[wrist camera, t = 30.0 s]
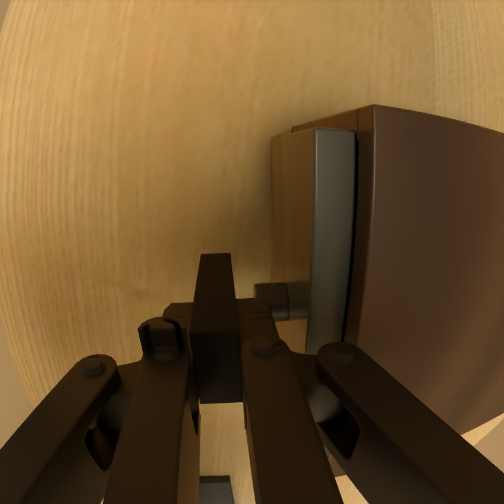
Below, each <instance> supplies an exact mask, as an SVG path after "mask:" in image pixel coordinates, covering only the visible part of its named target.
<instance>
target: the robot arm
mask: <svg viewBox="0 0 504 504" xmlns="http://www.w3.org/2000/svg"><path fill="white" fill-rule="evenodd" d="M138 333H139V337H140V342H141V346H142V350H143V356H142V359H141V360H140V361H137V362H134V363H130V364H125V365H120V366H117V364H116V361H115V360H114V359H113V358H112V357H110V356H107V355H102V354H96V355H90V356H87V357H85V358H83V359H81V360H80V361H79V362H77V363H76V364H75V365H74V366H73V367H72V368H71V369H70V371H69V372H68V373H67V374H66V375H65V376H64V377H63V378H62V379H61V380H60V381H59V383H58V384H57V385H56V386H55V387H54V388H53V389H52V390H51V391H50V393H49V394H48V395H47V396H46V397H45V398H44V399H43V400H42V402H41V403H40V404H39V405H38V406H37V407H36V408H35V409H34V411H33V412H32V413H31V414H30V415H29V417H27V419H26V420H25V421H24V422H23V423H22V425H21V426H20V427H19V428H18V429H17V430H16V432H15V433H14V434H13V435H12V436H11V437H10V439H9V440H8V441H7V442H6V443H5V445H4V446H3V447H2V448H1V449H0V504H100V503H101V501H102V499H103V498H104V500H103V504H199V464H200V423H201V415H200V410H199V399H200V404H213V403H234V402H243V407H244V424H245V429H246V435H247V443H248V451H249V458H250V466H251V473H252V480H253V488H254V495H255V502H256V504H344V503H343V500H342V497H341V494H340V491H339V489H338V486H337V483H336V480H335V477H334V474H333V471H332V469H331V466H330V463H329V460H328V457H327V454H326V452H325V449H324V446H323V444H324V445H325V446H326V448H327V449H328V450H329V452H330V453H331V455H332V456H333V457H334V459H335V460H336V461H337V463H338V464H339V465H340V467H341V468H342V469H343V471H344V472H345V473H346V475H347V476H348V477H349V479H350V480H351V481H352V483H353V484H354V485H355V486H356V488H357V489H358V490H359V492H360V493H361V494H362V495H363V497H364V498H365V499H366V501H367V502H368V503H369V504H504V473H503V472H502V471H501V470H499V469H498V468H497V467H496V466H495V465H494V464H492V463H491V462H490V461H489V460H488V459H487V458H486V457H485V456H483V455H482V454H481V453H480V452H479V451H478V450H476V449H475V448H474V447H473V446H472V445H471V444H470V443H468V442H467V441H466V440H465V439H464V438H463V437H462V436H460V435H459V434H458V433H457V432H456V431H455V430H454V429H452V428H451V427H450V426H449V425H448V424H447V423H445V422H444V421H443V420H442V419H441V418H440V417H439V416H437V415H436V414H435V413H434V412H433V411H432V410H431V409H429V408H428V407H427V406H426V405H425V404H424V403H423V402H421V401H420V400H419V399H418V398H417V397H416V396H415V395H413V394H412V393H411V392H410V391H409V390H408V389H406V388H405V387H404V386H403V385H402V384H401V383H400V382H398V381H397V380H396V379H395V378H394V377H393V376H392V375H390V374H389V373H388V372H387V371H386V370H385V369H384V368H382V367H381V366H380V365H379V364H378V363H377V362H376V361H374V360H373V359H372V358H371V357H370V356H369V355H368V354H366V353H365V352H364V351H363V350H362V349H361V348H359V347H357V346H356V345H354V344H351V343H347V342H331V343H327V344H325V345H323V346H321V347H320V349H319V350H318V352H317V355H310V354H302V353H297V352H294V351H291V350H290V349H289V347H288V345H287V344H286V342H285V341H283V340H282V339H280V337H279V334H278V331H277V328H276V325H275V321H274V318H273V315H272V312H271V309H270V306H269V303H268V302H266V301H265V300H264V299H262V298H245V299H236V297H235V288H234V280H233V271H232V263H231V254H230V253H216V254H201V257H200V263H199V269H198V276H197V282H196V289H195V295H194V302H185V303H171V304H170V305H169V306H168V307H167V308H166V309H165V310H164V313H163V316H161V317H155V318H152V319H149V320H146V321H145V322H143V323H142V324H141V325H140V326H139V327H138ZM322 442H323V443H322Z"/></svg>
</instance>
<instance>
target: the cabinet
mask: <svg viewBox="0 0 504 504" xmlns="http://www.w3.org/2000/svg"><path fill="white" fill-rule="evenodd" d="M314 127H323V128H340V129H352V130H354V131H355V138H356V150H355V156H359V169H358V200H357V219H356V235H355V248H354V260H353V271H352V281H351V290H350V298H349V307H348V315H347V322H346V329H345V336H344V342H347V343H351V344H354V345H356V346H357V347H359V348H361V349H362V350H363V351H364V352H365V353H366V354H368V355H369V356H370V357H371V358H372V359H373V360H374V361H376V362H377V363H378V364H379V365H380V366H381V367H382V368H384V369H385V370H386V371H387V372H388V373H389V374H390V375H392V376H393V377H394V378H395V379H396V380H397V381H398V382H400V383H401V384H402V385H403V386H404V387H405V388H406V389H408V390H409V391H410V392H411V393H412V394H413V395H415V396H416V397H417V398H418V399H419V400H420V401H421V402H423V403H424V404H425V405H426V406H427V407H428V408H429V409H431V410H432V411H433V412H434V413H435V414H436V415H437V416H439V417H440V418H441V419H442V420H443V421H444V422H445V423H447V424H448V425H449V426H450V427H451V428H452V429H454V430H455V431H456V432H457V433H458V434H459V435H462V434H464V433H466V432H468V431H470V430H472V429H474V428H476V427H478V426H480V425H482V424H484V423H486V422H488V421H490V420H492V419H493V418H495V417H497V416H499V415H501V414H502V413H504V133H501V132H498V131H494V130H491V129H488V128H484V127H481V126H477V125H474V124H470V123H466V122H462V121H458V120H454V119H450V118H446V117H441V116H437V115H432V114H428V113H423V112H417V111H412V110H407V109H401V108H395V107H389V106H382V105H375V104H373V105H369V106H365V107H361V108H358V109H354V110H350V111H346V112H342V113H338V114H335V115H331V116H328V117H324V118H320V119H317V120H314V121H310V122H307V123H304V124H300V125H296V126H293V127H292V132H296V131H301V130H305V129H310V128H314ZM322 443H323V442H322ZM323 446H324V449H325V452H326V454H327V457H328V460H329V463H330V466H331V469H332V471H333V474H334V477H338V476H342V475H346V473H345V472H344V471H343V469H342V468H341V467H340V465H339V464H338V463H337V461H336V460H335V459H334V457H333V456H332V455H331V453H330V452H329V450H328V449H327V448H326V446H325V445H324V444H323Z"/></svg>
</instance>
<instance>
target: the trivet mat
mask: <svg viewBox="0 0 504 504" xmlns="http://www.w3.org/2000/svg"><path fill="white" fill-rule="evenodd" d="M199 504H234V501H233V495H232V489H231V483H230V477H229V476H218V477H199Z"/></svg>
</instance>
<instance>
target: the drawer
mask: <svg viewBox="0 0 504 504" xmlns="http://www.w3.org/2000/svg"><path fill="white" fill-rule="evenodd" d="M355 150H356V138H355V131H354V130H352V129H340V128H323V127H314V128H310V129H305V130H301V131H296V132H292V133H288V134H284V135H280V136H276V137H272V230H273V270H272V283H259V284H255V285H254V298H262V299H264V300H265V301H266V302H268V303H269V306H270V309H271V312H272V315H273V318H274V321H275V325H276V328H277V331H278V334H279V337H280V339H282V340H283V341H285V342H286V344H287V345H288V347H289V349H290V350H291V351H294V352H297V353H302V354H310V355H317V352H318V350H319V349H320V347H321V346H323V345H325V344H327V343H331V342H344V336H345V329H346V322H347V315H348V307H349V298H350V290H351V281H352V271H353V260H354V248H355V235H356V219H357V200H358V169H359V156H355Z"/></svg>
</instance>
